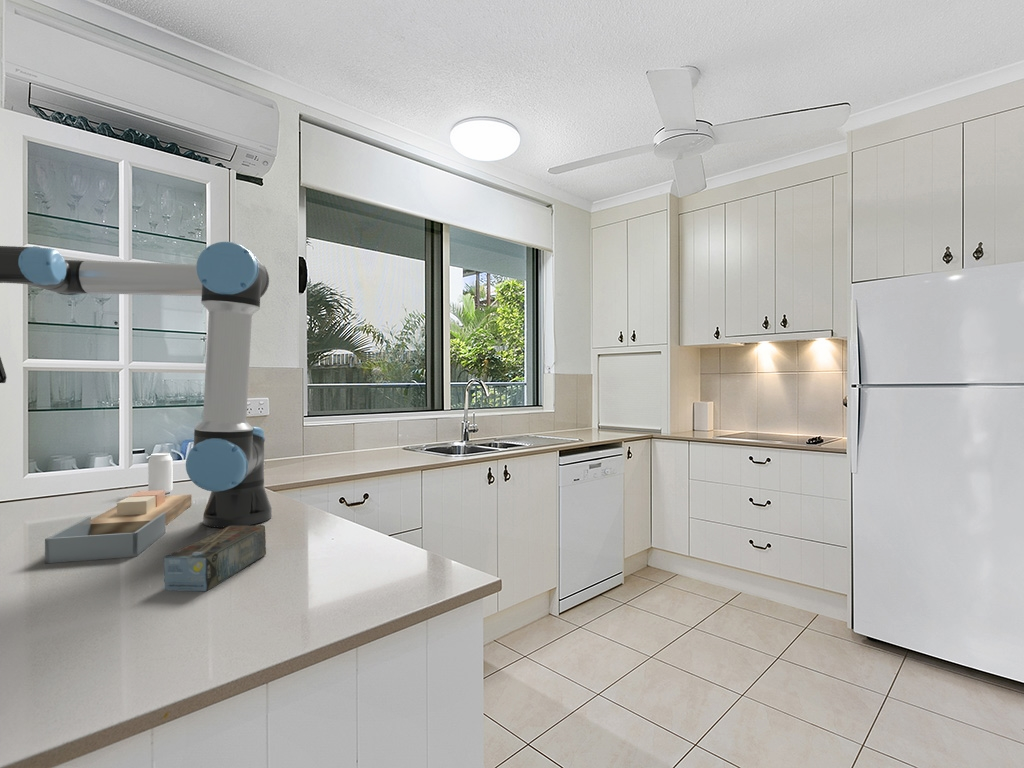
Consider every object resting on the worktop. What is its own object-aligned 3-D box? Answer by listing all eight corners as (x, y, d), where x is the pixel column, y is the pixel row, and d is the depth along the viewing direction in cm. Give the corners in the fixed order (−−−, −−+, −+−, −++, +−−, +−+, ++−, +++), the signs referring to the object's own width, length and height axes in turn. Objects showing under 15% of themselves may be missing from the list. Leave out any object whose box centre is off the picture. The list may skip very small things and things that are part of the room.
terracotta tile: (165, 501, 141) (165, 490, 141) (156, 507, 135) (156, 495, 135) (138, 503, 139) (138, 491, 139) (129, 508, 133) (129, 496, 133)
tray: (165, 532, 123) (165, 512, 123) (136, 556, 107) (136, 533, 107) (87, 537, 119) (87, 516, 119) (45, 563, 103) (44, 539, 103)
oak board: (191, 505, 150) (191, 494, 150) (155, 533, 123) (155, 520, 123) (132, 508, 146) (132, 497, 146) (82, 538, 119) (82, 524, 119)
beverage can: (143, 495, 163) (143, 454, 162) (159, 490, 169) (159, 452, 169) (161, 495, 162) (161, 455, 161) (177, 491, 168) (177, 452, 168)
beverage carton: (160, 591, 90) (160, 552, 90) (230, 554, 109) (230, 522, 109) (206, 593, 89) (206, 553, 89) (268, 556, 109) (268, 523, 109)
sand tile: (155, 508, 134) (155, 495, 134) (146, 513, 128) (146, 501, 128) (127, 509, 132) (127, 497, 132) (117, 515, 127) (117, 502, 127)
